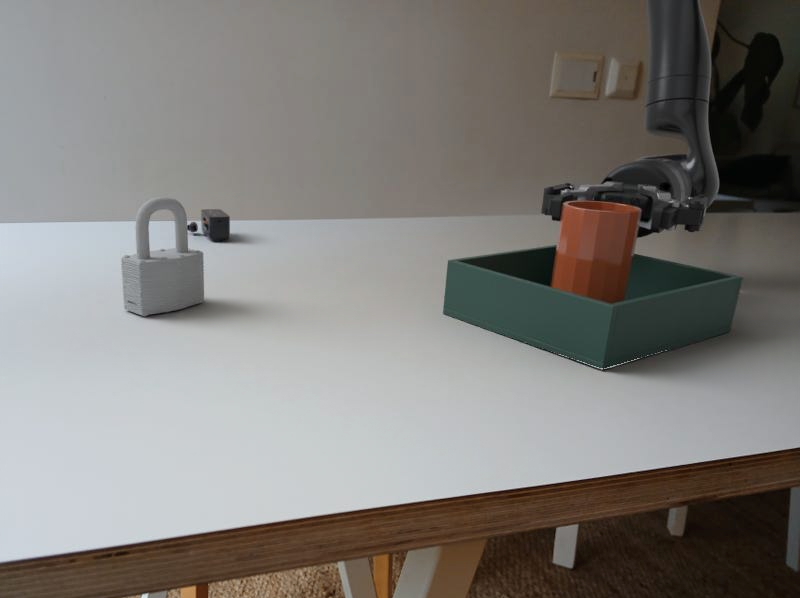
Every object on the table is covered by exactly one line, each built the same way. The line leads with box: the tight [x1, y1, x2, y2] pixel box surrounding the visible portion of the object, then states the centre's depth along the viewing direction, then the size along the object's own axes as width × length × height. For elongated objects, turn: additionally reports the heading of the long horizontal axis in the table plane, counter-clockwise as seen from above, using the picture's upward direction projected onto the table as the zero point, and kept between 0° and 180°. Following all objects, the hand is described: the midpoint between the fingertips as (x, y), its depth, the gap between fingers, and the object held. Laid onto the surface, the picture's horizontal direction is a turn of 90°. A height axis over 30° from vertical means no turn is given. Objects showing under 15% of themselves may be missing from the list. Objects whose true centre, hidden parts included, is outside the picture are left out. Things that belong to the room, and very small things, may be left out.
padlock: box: [120, 196, 205, 317], centre depth 66 cm, size 7×4×10 cm, turn 138°
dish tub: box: [442, 244, 744, 369], centre depth 67 cm, size 19×17×5 cm
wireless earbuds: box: [187, 208, 231, 242], centre depth 99 cm, size 5×7×3 cm, turn 19°
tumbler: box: [551, 201, 642, 304], centre depth 66 cm, size 6×6×10 cm
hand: (604, 214), depth 65 cm, fingers open, 8 cm apart
